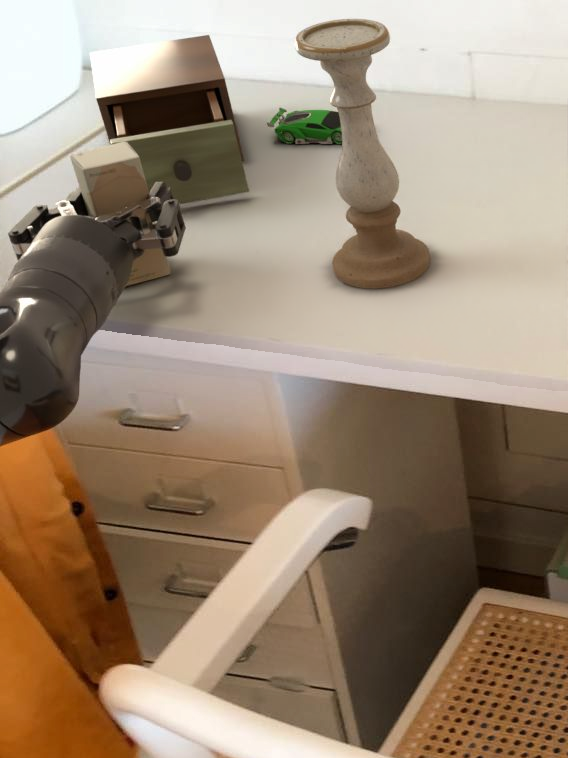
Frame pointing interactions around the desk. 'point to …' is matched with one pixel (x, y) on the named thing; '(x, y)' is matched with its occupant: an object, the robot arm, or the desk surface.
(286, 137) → the toy car
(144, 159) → the drawer
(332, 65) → the candle holder
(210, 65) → the cabinet
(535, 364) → the desk surface
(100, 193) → the box
